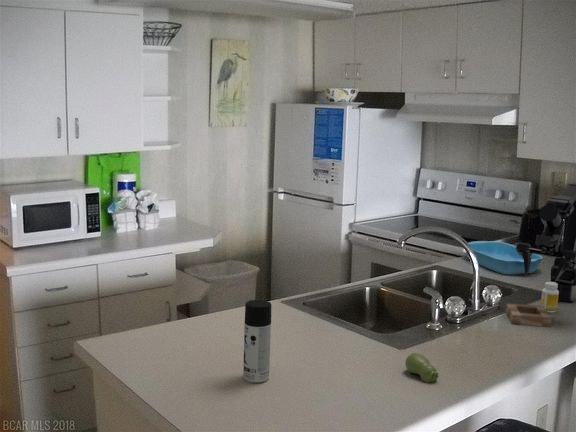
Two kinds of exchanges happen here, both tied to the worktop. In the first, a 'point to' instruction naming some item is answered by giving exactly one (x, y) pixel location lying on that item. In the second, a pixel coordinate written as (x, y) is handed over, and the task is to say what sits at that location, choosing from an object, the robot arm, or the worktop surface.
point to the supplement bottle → (550, 297)
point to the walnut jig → (528, 315)
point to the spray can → (257, 341)
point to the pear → (421, 367)
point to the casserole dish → (502, 257)
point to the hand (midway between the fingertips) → (540, 277)
